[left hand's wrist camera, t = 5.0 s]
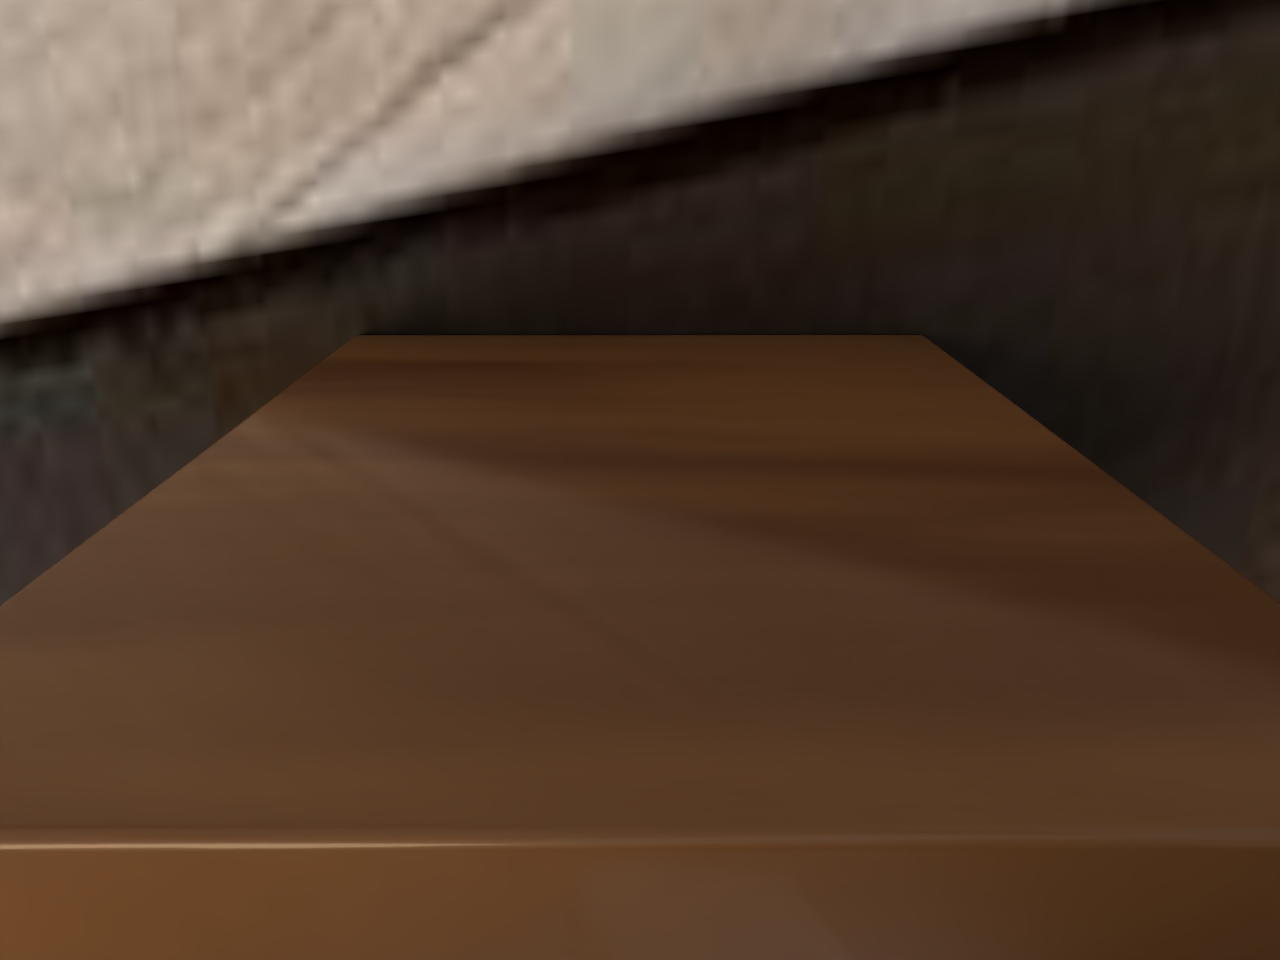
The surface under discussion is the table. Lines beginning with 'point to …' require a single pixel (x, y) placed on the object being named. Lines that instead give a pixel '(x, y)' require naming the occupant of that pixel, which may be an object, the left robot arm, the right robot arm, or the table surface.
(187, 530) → the box
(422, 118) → the table surface
